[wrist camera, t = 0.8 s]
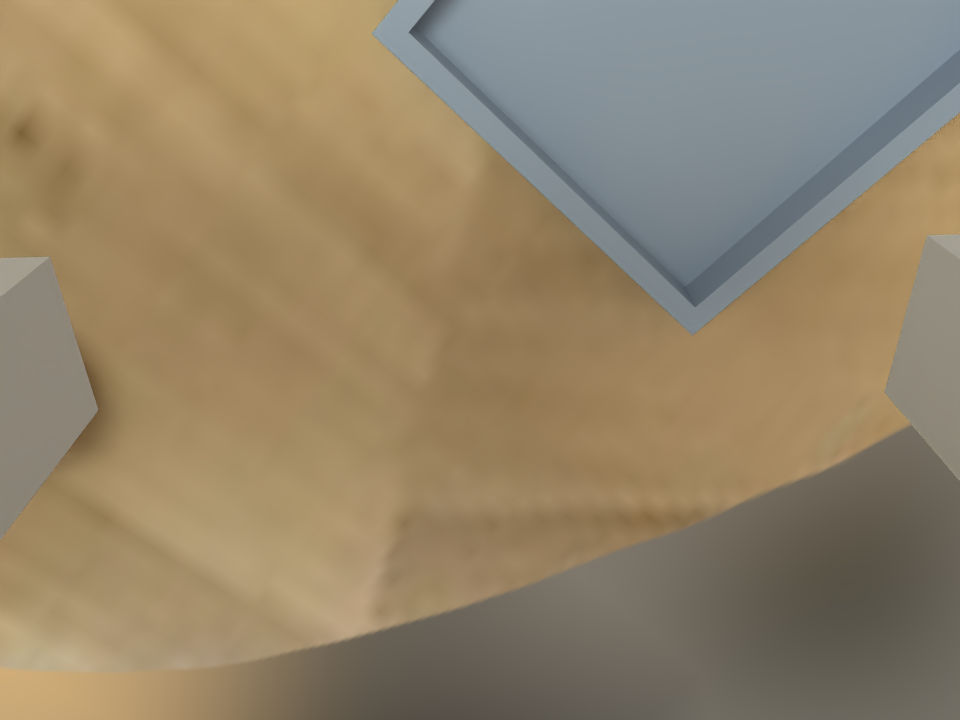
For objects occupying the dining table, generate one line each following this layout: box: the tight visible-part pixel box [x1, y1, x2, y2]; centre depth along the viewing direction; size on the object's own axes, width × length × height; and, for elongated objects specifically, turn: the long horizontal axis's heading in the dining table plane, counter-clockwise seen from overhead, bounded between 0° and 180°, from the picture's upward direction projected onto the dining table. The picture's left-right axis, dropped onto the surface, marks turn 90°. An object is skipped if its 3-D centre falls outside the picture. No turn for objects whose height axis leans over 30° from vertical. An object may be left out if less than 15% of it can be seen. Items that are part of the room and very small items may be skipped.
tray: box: [372, 0, 960, 335], centre depth 31 cm, size 19×19×3 cm
